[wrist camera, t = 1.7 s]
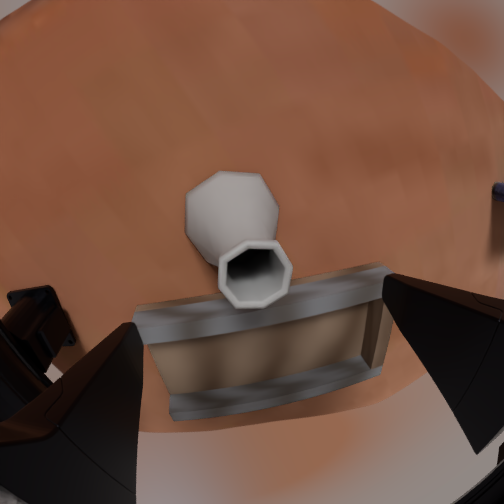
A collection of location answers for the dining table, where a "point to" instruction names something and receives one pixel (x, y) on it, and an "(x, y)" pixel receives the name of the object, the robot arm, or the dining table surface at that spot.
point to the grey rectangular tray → (269, 344)
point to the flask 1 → (239, 237)
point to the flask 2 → (498, 191)
